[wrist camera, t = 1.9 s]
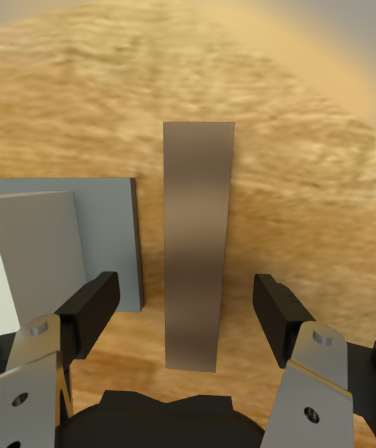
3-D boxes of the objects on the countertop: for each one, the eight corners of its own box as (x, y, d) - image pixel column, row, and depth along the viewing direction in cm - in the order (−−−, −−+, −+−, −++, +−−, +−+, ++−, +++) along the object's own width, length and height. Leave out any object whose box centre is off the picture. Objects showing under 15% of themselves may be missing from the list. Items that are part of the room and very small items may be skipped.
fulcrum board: (134, 177, 15) (78, 177, 8) (143, 305, 18) (108, 383, 11) (-2, 178, 16) (-157, 178, 9) (28, 300, 19) (-71, 369, 12)
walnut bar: (173, 137, 14) (163, 121, 10) (225, 137, 14) (234, 122, 10) (173, 328, 19) (165, 368, 15) (212, 331, 18) (215, 372, 14)
